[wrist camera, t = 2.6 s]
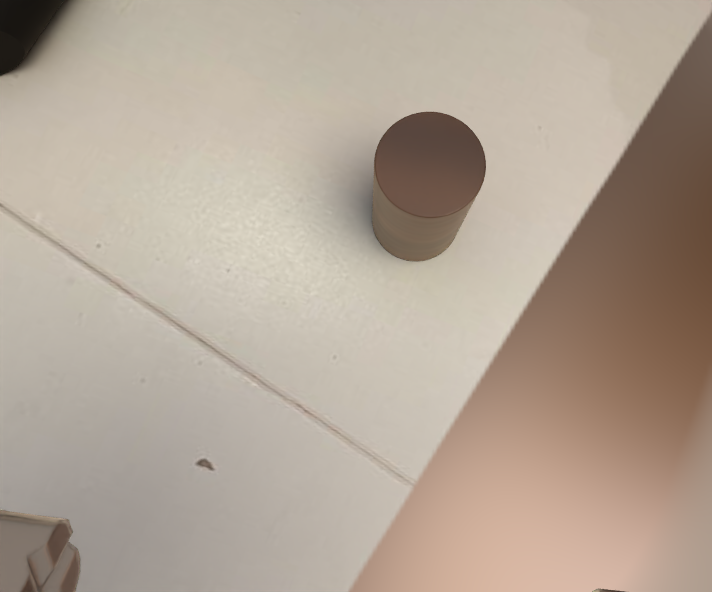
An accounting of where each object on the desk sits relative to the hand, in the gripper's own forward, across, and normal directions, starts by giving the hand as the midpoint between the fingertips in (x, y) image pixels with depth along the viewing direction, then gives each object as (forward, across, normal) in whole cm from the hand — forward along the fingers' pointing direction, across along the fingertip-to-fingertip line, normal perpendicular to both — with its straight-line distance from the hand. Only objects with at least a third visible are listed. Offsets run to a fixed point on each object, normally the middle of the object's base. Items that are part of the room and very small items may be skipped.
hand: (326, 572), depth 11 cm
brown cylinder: (+25, -2, +7) cm, 26 cm away
